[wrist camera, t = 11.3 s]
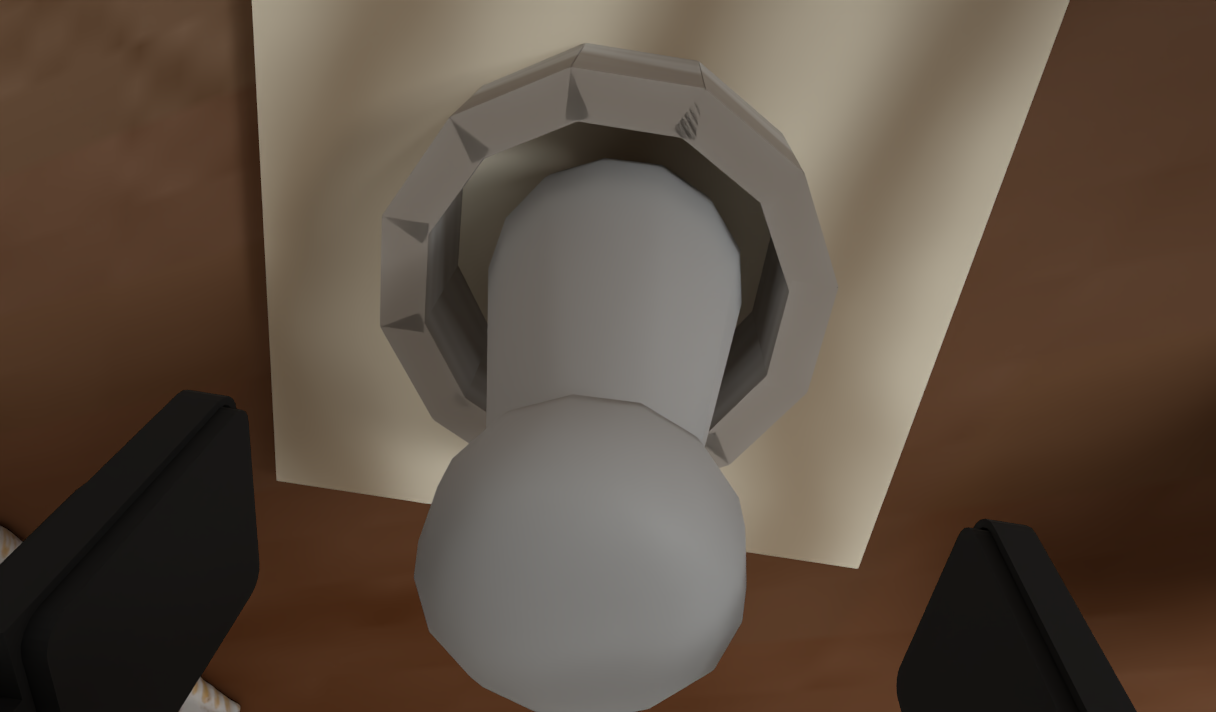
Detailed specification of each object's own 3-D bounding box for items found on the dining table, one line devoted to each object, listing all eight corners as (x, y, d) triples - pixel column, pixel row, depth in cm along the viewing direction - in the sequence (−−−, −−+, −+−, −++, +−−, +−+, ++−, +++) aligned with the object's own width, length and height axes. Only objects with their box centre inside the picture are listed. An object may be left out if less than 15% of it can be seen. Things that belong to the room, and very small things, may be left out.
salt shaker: (467, 275, 22) (254, 666, 11) (583, 86, 20) (470, 326, 8) (652, 385, 23) (641, 844, 12) (782, 220, 21) (928, 593, 9)
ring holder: (1080, -85, 18) (1195, -86, 14) (851, 547, 27) (884, 657, 23) (260, -220, 18) (146, -259, 14) (289, 461, 26) (223, 558, 22)
